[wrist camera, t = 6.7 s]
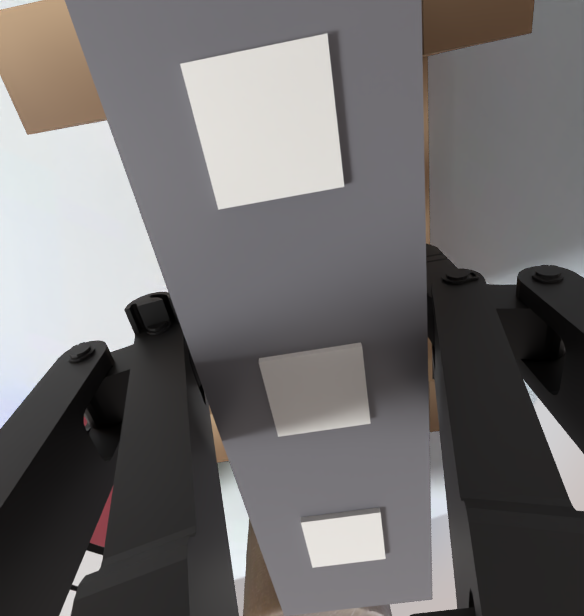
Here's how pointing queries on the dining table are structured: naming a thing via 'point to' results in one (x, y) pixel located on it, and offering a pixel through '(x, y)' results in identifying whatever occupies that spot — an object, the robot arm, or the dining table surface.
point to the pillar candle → (262, 596)
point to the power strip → (292, 262)
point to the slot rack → (88, 109)
